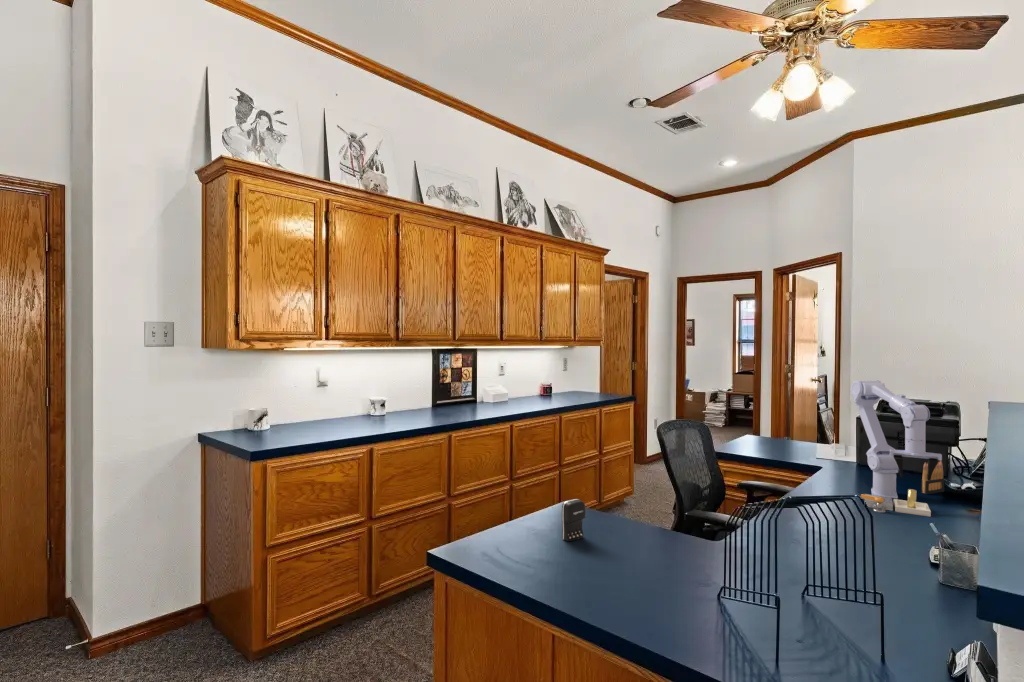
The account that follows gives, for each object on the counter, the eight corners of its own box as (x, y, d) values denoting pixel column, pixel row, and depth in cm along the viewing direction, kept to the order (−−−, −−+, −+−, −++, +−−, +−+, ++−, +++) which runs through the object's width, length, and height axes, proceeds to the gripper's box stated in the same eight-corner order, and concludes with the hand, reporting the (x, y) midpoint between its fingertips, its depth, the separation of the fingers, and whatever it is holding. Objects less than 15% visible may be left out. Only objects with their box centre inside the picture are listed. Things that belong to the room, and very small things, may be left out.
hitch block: (864, 500, 198) (864, 491, 197) (891, 504, 193) (891, 495, 193) (865, 510, 187) (865, 501, 187) (893, 514, 182) (893, 505, 182)
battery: (569, 543, 158) (569, 504, 158) (561, 539, 161) (561, 501, 161) (587, 538, 162) (587, 500, 161) (579, 534, 165) (579, 497, 165)
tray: (893, 504, 194) (893, 499, 194) (927, 508, 189) (927, 503, 188) (895, 511, 185) (895, 506, 185) (930, 516, 180) (930, 511, 180)
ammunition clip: (925, 494, 205) (926, 463, 205) (920, 493, 207) (921, 461, 206) (944, 491, 209) (945, 460, 208) (939, 490, 210) (939, 459, 210)
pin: (906, 507, 188) (907, 488, 188) (915, 508, 187) (916, 489, 187) (907, 509, 186) (908, 490, 186) (916, 510, 185) (917, 491, 185)
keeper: (884, 501, 186) (884, 497, 186) (882, 502, 184) (882, 499, 184) (862, 496, 191) (862, 493, 191) (860, 498, 189) (860, 495, 189)
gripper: (890, 439, 190) (890, 478, 190) (943, 443, 182) (943, 483, 182) (889, 436, 196) (889, 473, 196) (940, 440, 188) (940, 479, 188)
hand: (915, 478), depth 189 cm, fingers open, 7 cm apart
